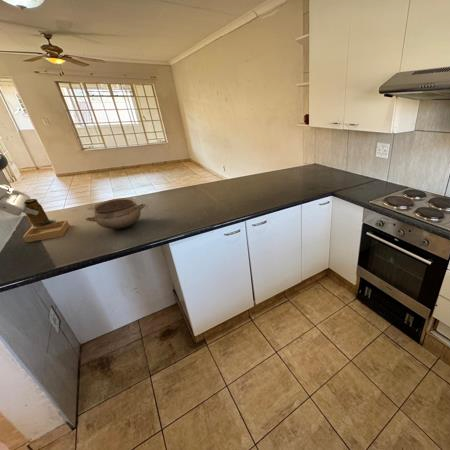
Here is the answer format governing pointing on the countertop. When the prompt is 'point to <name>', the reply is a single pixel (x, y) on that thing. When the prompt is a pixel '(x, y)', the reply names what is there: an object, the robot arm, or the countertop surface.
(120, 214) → the cooking pot
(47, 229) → the tray
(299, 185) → the countertop surface
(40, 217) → the condiment
